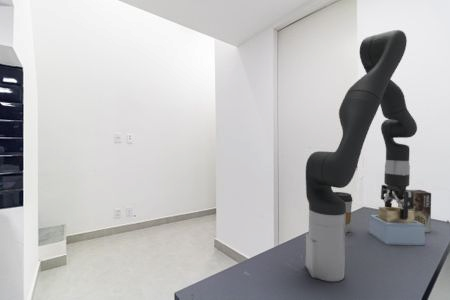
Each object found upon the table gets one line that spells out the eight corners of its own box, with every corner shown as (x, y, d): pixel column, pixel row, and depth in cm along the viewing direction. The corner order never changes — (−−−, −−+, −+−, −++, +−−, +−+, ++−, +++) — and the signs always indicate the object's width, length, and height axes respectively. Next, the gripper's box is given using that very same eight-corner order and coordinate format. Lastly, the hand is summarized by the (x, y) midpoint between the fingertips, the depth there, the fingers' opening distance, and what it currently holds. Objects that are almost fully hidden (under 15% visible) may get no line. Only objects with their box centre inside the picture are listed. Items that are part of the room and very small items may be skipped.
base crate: (386, 244, 83) (386, 224, 83) (368, 232, 94) (368, 214, 94) (424, 245, 83) (425, 225, 82) (402, 233, 94) (402, 215, 93)
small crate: (388, 225, 85) (388, 211, 85) (378, 219, 91) (378, 206, 91) (413, 225, 85) (414, 211, 85) (402, 220, 91) (402, 207, 91)
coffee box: (419, 227, 101) (420, 189, 100) (430, 232, 94) (432, 192, 94) (396, 226, 101) (397, 188, 101) (406, 231, 95) (407, 192, 94)
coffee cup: (328, 231, 94) (329, 194, 94) (329, 225, 102) (330, 190, 101) (351, 235, 90) (352, 197, 90) (351, 228, 98) (352, 193, 97)
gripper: (375, 170, 95) (373, 210, 95) (399, 175, 81) (398, 221, 81) (394, 170, 94) (393, 210, 95) (422, 175, 80) (420, 222, 81)
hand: (395, 215), depth 88 cm, fingers open, 8 cm apart
